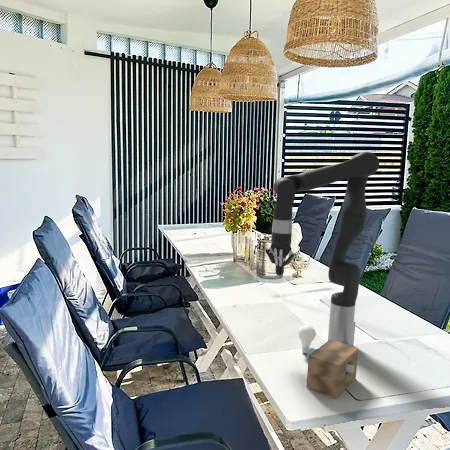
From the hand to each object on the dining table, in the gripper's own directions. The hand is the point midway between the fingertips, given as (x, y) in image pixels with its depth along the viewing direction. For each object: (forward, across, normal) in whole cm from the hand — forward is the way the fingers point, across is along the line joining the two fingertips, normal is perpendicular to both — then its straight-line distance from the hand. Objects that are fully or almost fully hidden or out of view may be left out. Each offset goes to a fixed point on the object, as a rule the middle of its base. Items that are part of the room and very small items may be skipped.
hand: (279, 275), depth 172 cm
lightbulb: (+27, -14, +2) cm, 31 cm away
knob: (+23, -30, +16) cm, 41 cm away
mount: (+27, -30, +16) cm, 43 cm away
